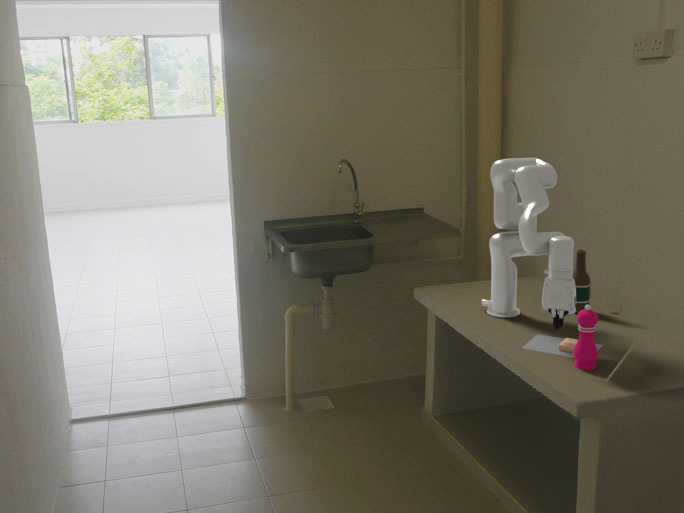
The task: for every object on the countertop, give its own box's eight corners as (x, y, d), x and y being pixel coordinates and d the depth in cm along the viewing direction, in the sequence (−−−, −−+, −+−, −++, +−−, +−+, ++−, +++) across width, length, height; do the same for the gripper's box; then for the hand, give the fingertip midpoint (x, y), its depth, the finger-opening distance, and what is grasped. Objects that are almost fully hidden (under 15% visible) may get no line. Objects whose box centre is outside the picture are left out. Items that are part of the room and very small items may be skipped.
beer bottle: (589, 309, 269) (592, 248, 263) (589, 315, 261) (592, 253, 256) (568, 307, 271) (570, 248, 266) (567, 313, 264) (570, 252, 259)
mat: (521, 349, 228) (521, 348, 227) (537, 335, 240) (537, 334, 240) (589, 362, 215) (589, 360, 215) (602, 346, 228) (602, 345, 228)
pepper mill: (568, 363, 215) (571, 302, 210) (591, 362, 215) (594, 300, 211) (578, 372, 208) (581, 309, 203) (601, 371, 208) (605, 307, 204)
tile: (558, 344, 224) (587, 349, 219) (566, 337, 230) (594, 342, 225) (558, 350, 224) (586, 355, 219) (566, 343, 231) (593, 347, 226)
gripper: (533, 274, 224) (531, 328, 228) (580, 279, 216) (577, 335, 220) (541, 269, 230) (539, 321, 234) (587, 274, 222) (584, 328, 226)
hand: (558, 328), depth 227 cm, fingers closed
